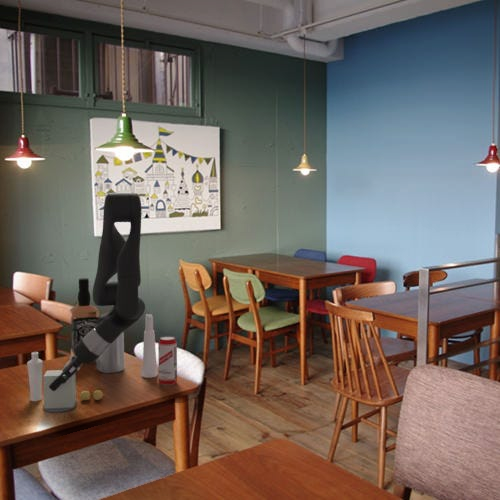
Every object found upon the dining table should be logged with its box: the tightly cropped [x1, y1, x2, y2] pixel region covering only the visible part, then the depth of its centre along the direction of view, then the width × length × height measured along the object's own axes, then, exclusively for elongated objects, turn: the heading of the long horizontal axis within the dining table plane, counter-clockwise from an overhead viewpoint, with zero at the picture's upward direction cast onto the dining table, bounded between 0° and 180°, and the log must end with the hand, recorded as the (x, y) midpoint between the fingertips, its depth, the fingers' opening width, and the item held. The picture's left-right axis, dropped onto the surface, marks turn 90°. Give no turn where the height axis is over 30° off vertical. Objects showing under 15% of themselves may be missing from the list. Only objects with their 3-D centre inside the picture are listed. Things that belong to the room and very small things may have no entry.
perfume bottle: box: [26, 351, 44, 402], centre depth 178 cm, size 5×4×15 cm
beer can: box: [157, 335, 178, 387], centre depth 194 cm, size 6×6×16 cm
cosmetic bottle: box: [140, 313, 159, 379], centre depth 202 cm, size 6×6×22 cm
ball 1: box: [80, 390, 91, 401], centre depth 178 cm, size 3×3×3 cm
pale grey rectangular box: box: [42, 369, 77, 409], centre depth 173 cm, size 8×5×10 cm, turn 98°
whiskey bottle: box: [69, 277, 100, 365], centre depth 219 cm, size 10×10×32 cm
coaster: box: [42, 401, 78, 414], centre depth 173 cm, size 10×10×1 cm
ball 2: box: [92, 389, 104, 401], centre depth 179 cm, size 3×3×3 cm
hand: (53, 384), depth 172 cm, fingers open, 6 cm apart
